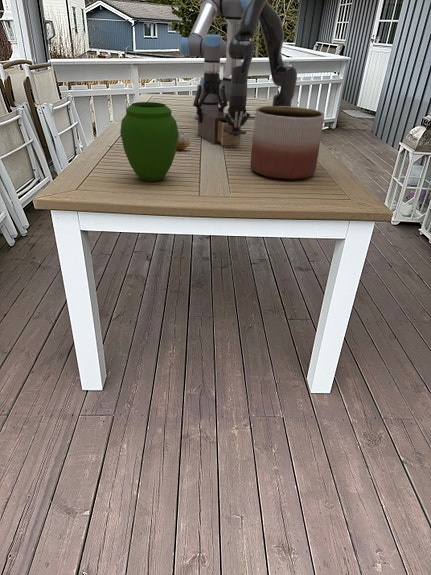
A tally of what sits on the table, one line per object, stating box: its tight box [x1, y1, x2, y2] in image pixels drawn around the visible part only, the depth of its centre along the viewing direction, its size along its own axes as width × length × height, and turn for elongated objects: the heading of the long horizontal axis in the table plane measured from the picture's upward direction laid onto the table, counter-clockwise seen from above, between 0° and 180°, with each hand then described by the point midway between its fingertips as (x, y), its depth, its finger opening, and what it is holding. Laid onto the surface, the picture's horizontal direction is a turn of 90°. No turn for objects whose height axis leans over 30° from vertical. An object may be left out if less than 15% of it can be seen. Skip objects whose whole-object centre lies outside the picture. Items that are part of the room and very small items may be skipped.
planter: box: [249, 105, 325, 181], centre depth 155 cm, size 25×25×22 cm
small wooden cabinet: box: [197, 110, 231, 145], centre depth 202 cm, size 20×10×12 cm, turn 25°
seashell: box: [176, 130, 191, 151], centre depth 180 cm, size 10×6×8 cm, turn 97°
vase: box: [119, 101, 179, 182], centre depth 140 cm, size 20×20×24 cm
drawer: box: [216, 120, 247, 147], centre depth 193 cm, size 25×9×10 cm, turn 25°
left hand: (209, 121), depth 206 cm, fingers closed on small wooden cabinet, 10 cm apart
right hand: (235, 135), depth 185 cm, fingers closed
